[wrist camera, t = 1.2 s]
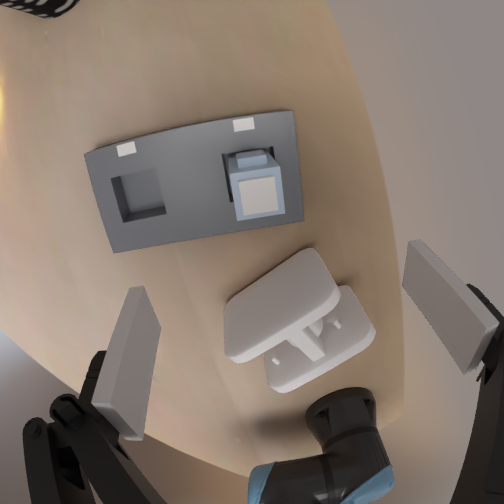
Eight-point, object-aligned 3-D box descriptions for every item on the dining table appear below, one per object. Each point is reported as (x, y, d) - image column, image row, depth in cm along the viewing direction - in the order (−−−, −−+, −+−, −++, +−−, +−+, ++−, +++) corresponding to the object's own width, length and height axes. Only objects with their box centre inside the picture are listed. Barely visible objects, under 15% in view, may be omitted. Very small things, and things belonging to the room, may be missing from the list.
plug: (269, 182, 34) (286, 215, 25) (234, 188, 34) (237, 223, 25) (263, 141, 32) (280, 157, 23) (227, 146, 32) (227, 165, 23)
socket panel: (297, 210, 36) (304, 221, 33) (122, 240, 36) (113, 254, 33) (286, 109, 31) (293, 110, 28) (96, 148, 31) (83, 154, 28)
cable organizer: (314, 235, 38) (346, 286, 28) (351, 288, 43) (383, 342, 32) (222, 299, 42) (223, 362, 31) (267, 341, 46) (277, 402, 36)
